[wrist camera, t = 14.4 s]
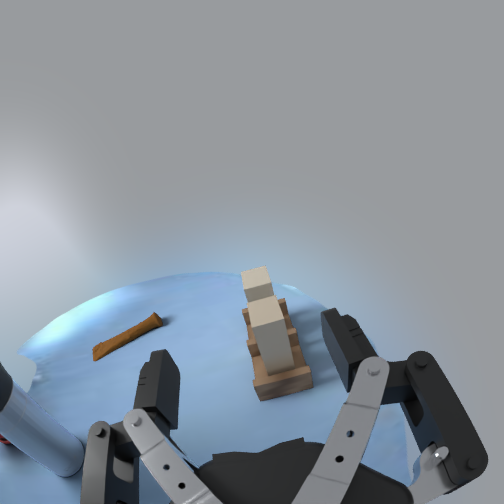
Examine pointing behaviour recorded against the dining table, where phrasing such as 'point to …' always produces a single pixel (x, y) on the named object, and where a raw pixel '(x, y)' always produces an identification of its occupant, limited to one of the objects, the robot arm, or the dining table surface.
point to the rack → (283, 381)
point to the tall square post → (257, 284)
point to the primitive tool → (126, 337)
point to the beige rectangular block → (271, 335)
